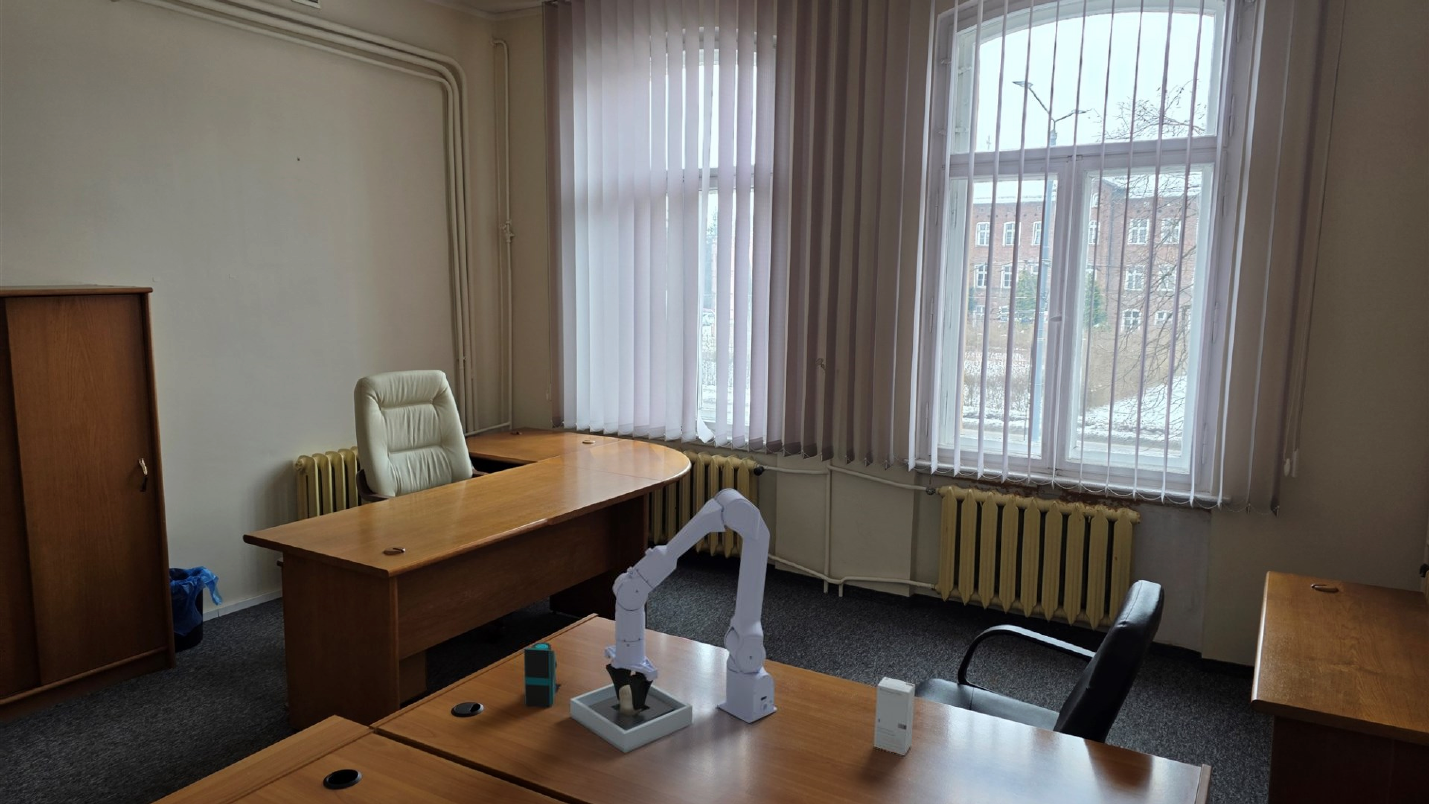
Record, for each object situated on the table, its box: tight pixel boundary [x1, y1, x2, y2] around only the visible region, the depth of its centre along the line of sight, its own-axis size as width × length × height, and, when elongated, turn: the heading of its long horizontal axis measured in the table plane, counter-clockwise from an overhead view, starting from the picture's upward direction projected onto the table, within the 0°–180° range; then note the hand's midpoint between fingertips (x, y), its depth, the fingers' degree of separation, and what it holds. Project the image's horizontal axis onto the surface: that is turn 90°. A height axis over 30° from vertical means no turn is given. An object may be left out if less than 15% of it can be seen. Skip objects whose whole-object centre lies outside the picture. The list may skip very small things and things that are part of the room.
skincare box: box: [873, 676, 916, 755], centre depth 152 cm, size 6×4×12 cm
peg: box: [619, 685, 641, 717], centre depth 162 cm, size 4×4×6 cm
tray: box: [569, 683, 693, 754], centre depth 162 cm, size 18×16×4 cm
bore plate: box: [587, 694, 674, 731], centre depth 162 cm, size 12×12×2 cm
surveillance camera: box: [523, 642, 562, 709], centre depth 171 cm, size 6×12×10 cm
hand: (630, 703), depth 162 cm, fingers open, 5 cm apart
